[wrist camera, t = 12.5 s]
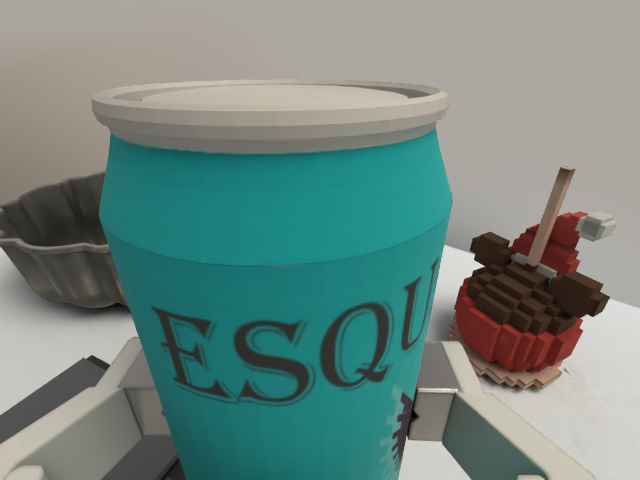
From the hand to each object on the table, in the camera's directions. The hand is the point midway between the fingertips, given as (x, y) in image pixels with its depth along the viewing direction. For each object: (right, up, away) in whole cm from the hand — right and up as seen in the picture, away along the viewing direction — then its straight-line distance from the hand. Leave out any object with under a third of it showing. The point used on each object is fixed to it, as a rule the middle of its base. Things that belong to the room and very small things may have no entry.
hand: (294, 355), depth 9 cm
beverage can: (0, -8, +3) cm, 8 cm away
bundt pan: (-22, 0, +35) cm, 42 cm away
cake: (+18, -8, +23) cm, 30 cm away
